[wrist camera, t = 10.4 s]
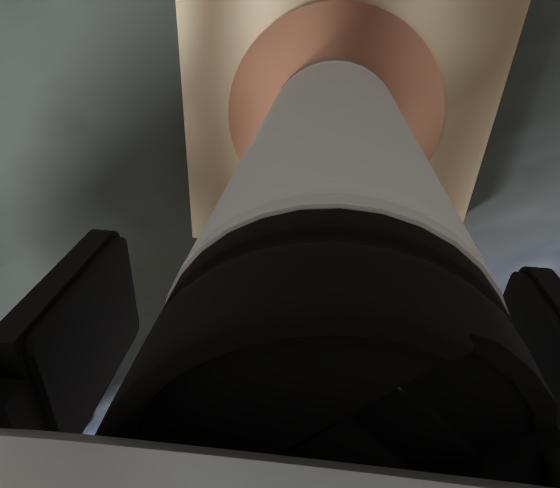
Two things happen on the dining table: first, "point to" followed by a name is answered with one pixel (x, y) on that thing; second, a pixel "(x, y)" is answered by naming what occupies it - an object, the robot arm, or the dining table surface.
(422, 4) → the cream panel copper ring
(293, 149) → the travel mug
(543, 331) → the robot arm
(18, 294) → the dining table surface
